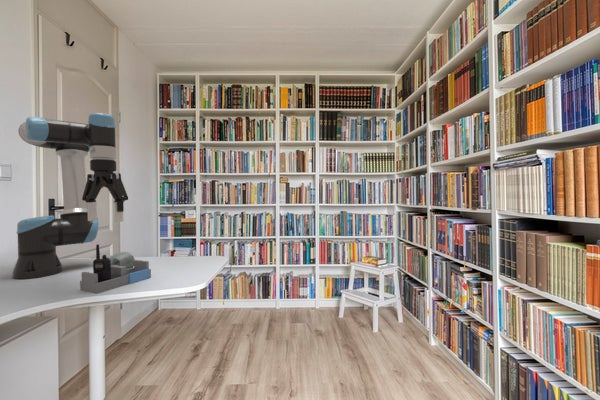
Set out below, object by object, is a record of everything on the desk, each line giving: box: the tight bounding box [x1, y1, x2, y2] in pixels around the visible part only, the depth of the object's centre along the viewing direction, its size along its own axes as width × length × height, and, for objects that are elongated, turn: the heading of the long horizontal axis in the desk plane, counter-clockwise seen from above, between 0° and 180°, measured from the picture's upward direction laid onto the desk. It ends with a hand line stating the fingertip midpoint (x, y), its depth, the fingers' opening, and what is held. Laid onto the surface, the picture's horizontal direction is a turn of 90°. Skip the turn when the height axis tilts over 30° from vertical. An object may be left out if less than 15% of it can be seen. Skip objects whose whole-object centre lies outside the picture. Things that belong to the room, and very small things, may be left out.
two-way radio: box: [92, 243, 111, 283], centre depth 103 cm, size 6×4×15 cm
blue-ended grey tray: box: [79, 259, 152, 294], centre depth 107 cm, size 10×20×6 cm, turn 155°
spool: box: [106, 251, 136, 269], centre depth 122 cm, size 14×10×10 cm
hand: (105, 221), depth 103 cm, fingers open, 13 cm apart
